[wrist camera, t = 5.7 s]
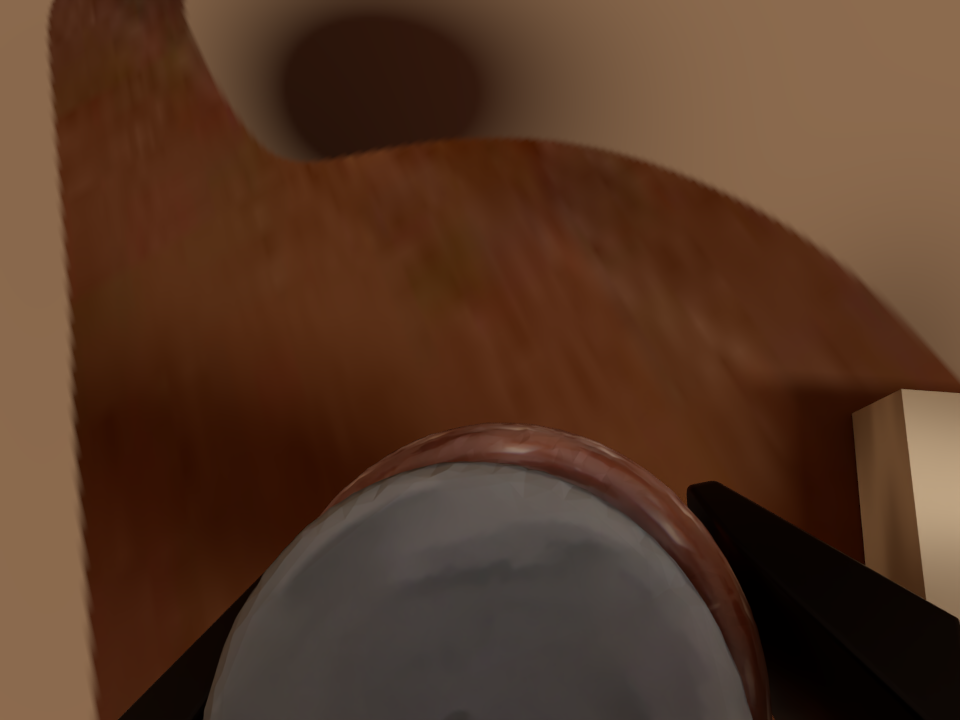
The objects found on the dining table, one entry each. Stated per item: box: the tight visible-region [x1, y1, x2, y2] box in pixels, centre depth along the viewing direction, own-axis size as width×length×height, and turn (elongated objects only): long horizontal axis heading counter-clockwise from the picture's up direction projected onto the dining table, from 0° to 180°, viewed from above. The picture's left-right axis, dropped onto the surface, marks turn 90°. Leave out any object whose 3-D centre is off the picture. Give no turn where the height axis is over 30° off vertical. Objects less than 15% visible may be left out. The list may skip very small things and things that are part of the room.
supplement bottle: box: [203, 423, 772, 720], centre depth 9 cm, size 6×6×11 cm
